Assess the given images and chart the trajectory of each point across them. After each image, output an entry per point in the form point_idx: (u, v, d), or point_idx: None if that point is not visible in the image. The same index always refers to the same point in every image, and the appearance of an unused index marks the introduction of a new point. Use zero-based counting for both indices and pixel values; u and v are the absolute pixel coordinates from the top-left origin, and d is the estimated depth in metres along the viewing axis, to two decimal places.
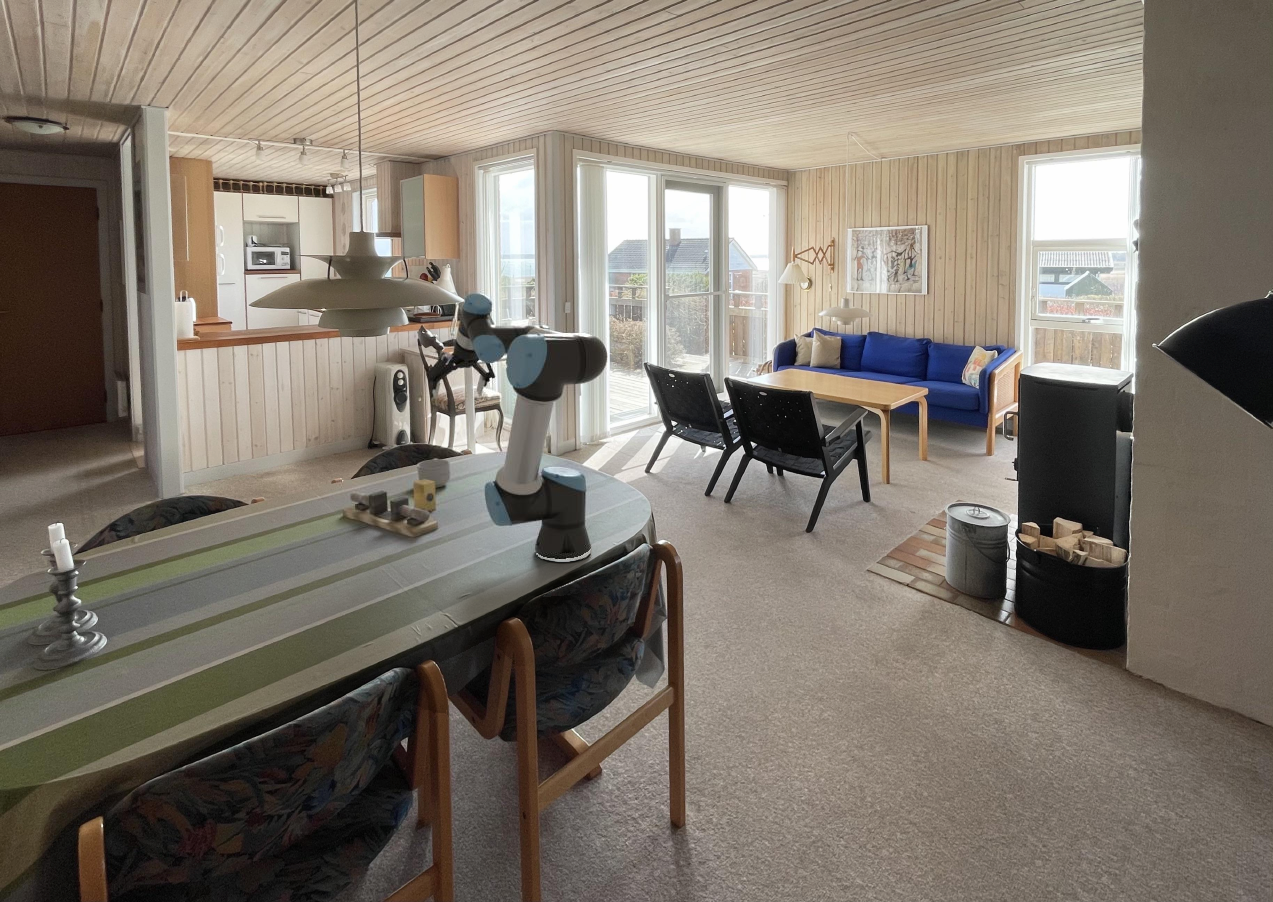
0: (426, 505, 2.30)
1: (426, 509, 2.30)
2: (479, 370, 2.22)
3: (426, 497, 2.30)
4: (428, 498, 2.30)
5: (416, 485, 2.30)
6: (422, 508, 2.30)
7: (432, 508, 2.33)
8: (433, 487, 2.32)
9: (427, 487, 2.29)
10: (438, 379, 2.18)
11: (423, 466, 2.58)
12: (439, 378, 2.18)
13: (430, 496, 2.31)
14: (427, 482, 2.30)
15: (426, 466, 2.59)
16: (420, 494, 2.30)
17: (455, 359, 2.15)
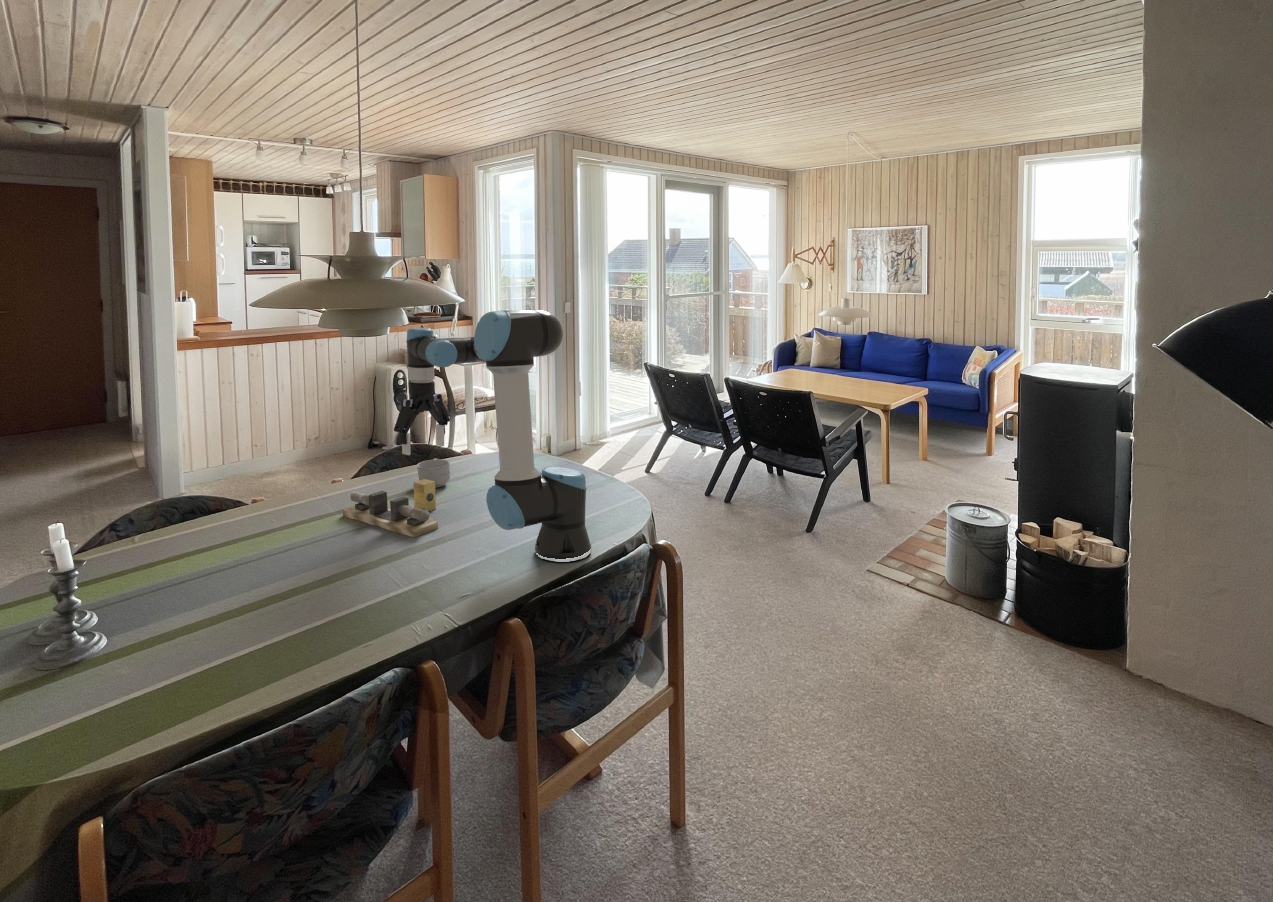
0: (426, 505, 2.30)
1: (426, 509, 2.30)
2: (436, 412, 2.29)
3: (426, 497, 2.30)
4: (428, 498, 2.30)
5: (416, 485, 2.30)
6: (422, 508, 2.30)
7: (432, 508, 2.33)
8: (433, 487, 2.32)
9: (427, 487, 2.29)
10: (407, 428, 2.20)
11: (423, 466, 2.58)
12: (407, 427, 2.20)
13: (430, 496, 2.31)
14: (427, 482, 2.30)
15: (426, 466, 2.59)
16: (420, 494, 2.30)
17: (416, 401, 2.21)
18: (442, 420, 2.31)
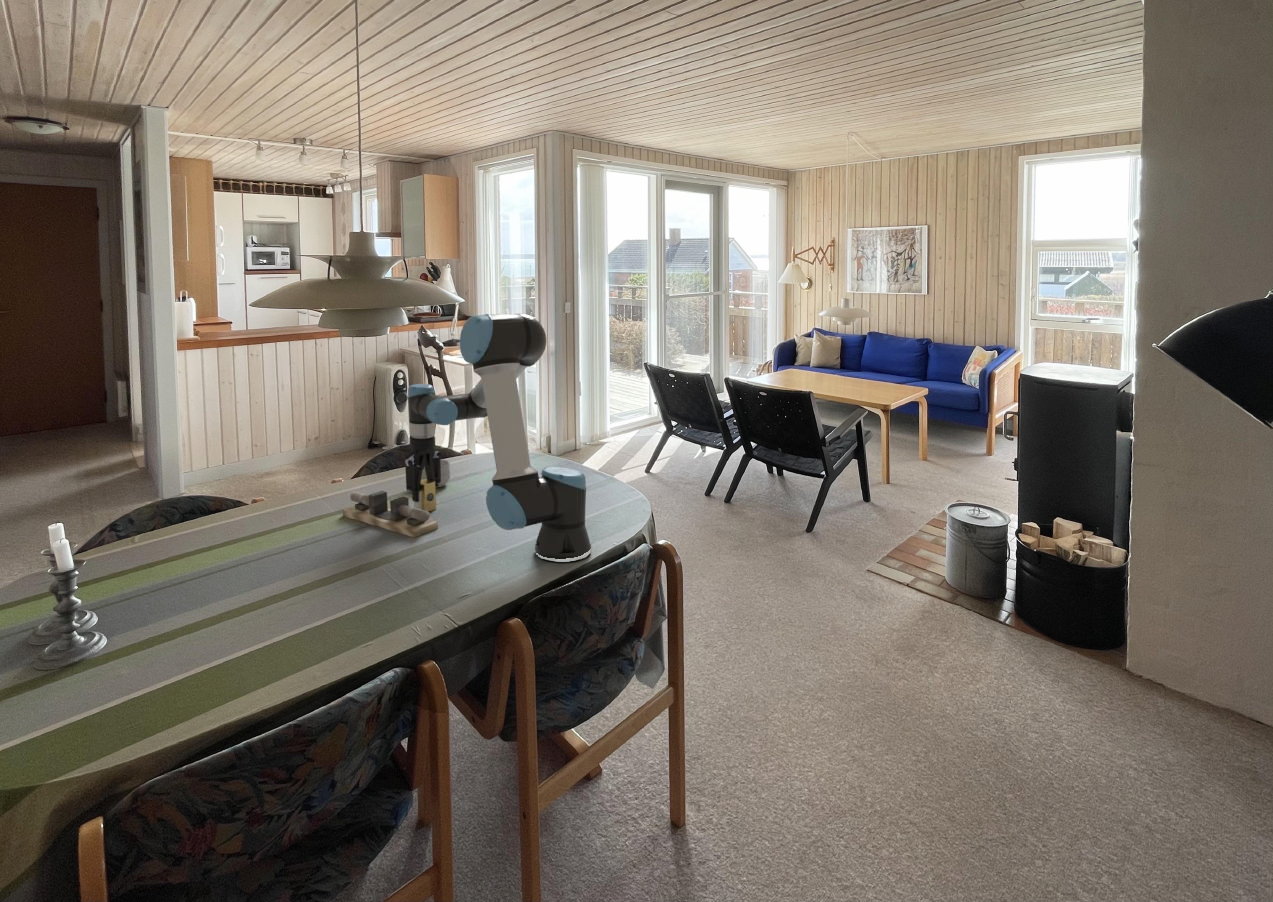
0: (427, 505, 2.30)
1: (426, 509, 2.30)
2: (432, 470, 2.32)
3: (426, 497, 2.29)
4: (428, 498, 2.30)
5: None
6: (422, 508, 2.30)
7: (432, 508, 2.32)
8: (433, 487, 2.31)
9: (427, 487, 2.29)
10: (418, 486, 2.28)
11: None
12: (418, 485, 2.28)
13: (431, 496, 2.31)
14: (427, 482, 2.30)
15: None
16: None
17: (417, 456, 2.25)
18: None
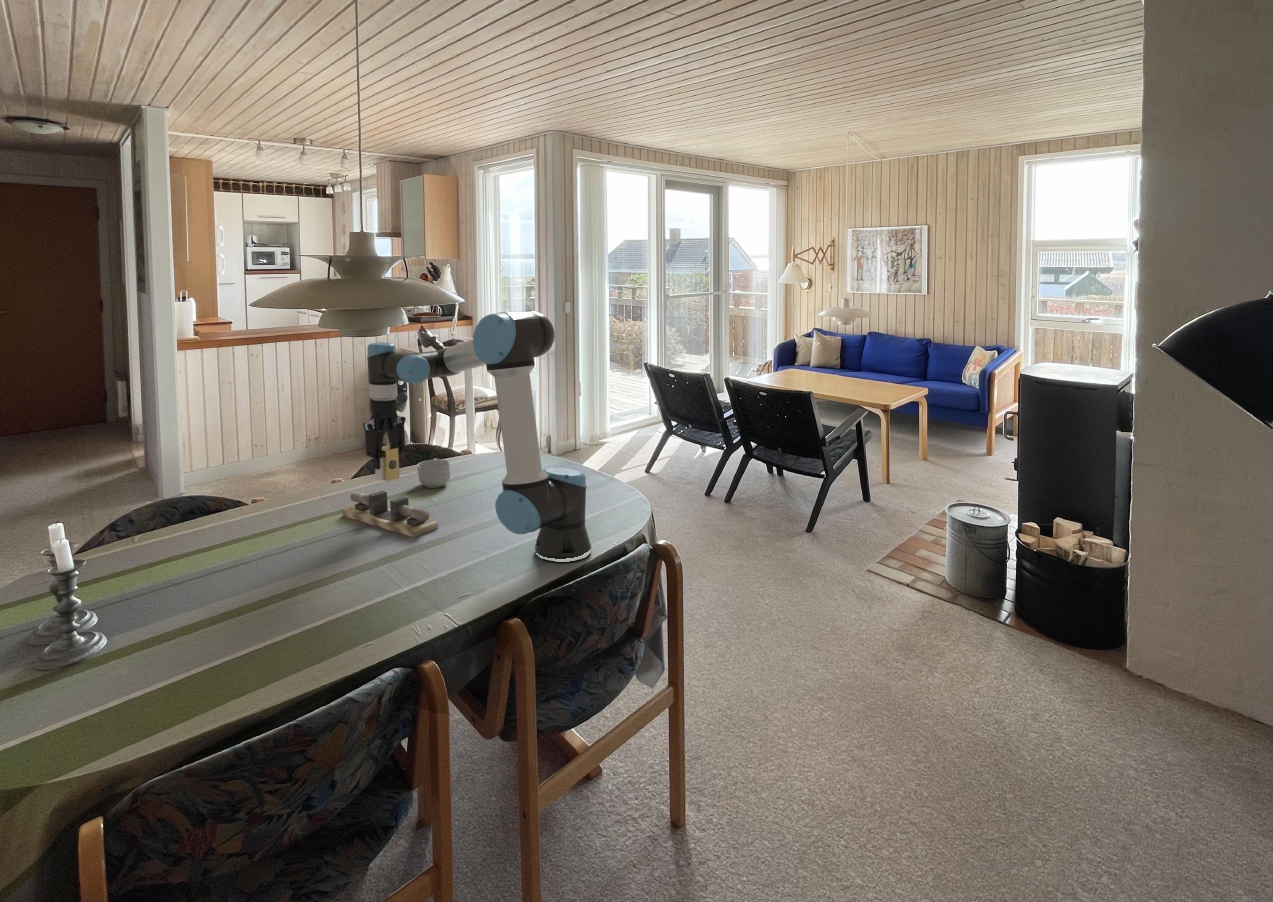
0: (389, 473, 2.15)
1: (388, 477, 2.15)
2: (395, 436, 2.17)
3: (388, 464, 2.14)
4: (390, 465, 2.15)
5: None
6: (384, 476, 2.15)
7: (395, 476, 2.17)
8: (396, 454, 2.16)
9: (389, 454, 2.14)
10: (379, 453, 2.13)
11: (423, 466, 2.58)
12: (379, 451, 2.13)
13: (393, 463, 2.16)
14: (389, 448, 2.15)
15: (426, 466, 2.59)
16: None
17: (377, 420, 2.10)
18: (397, 447, 2.18)
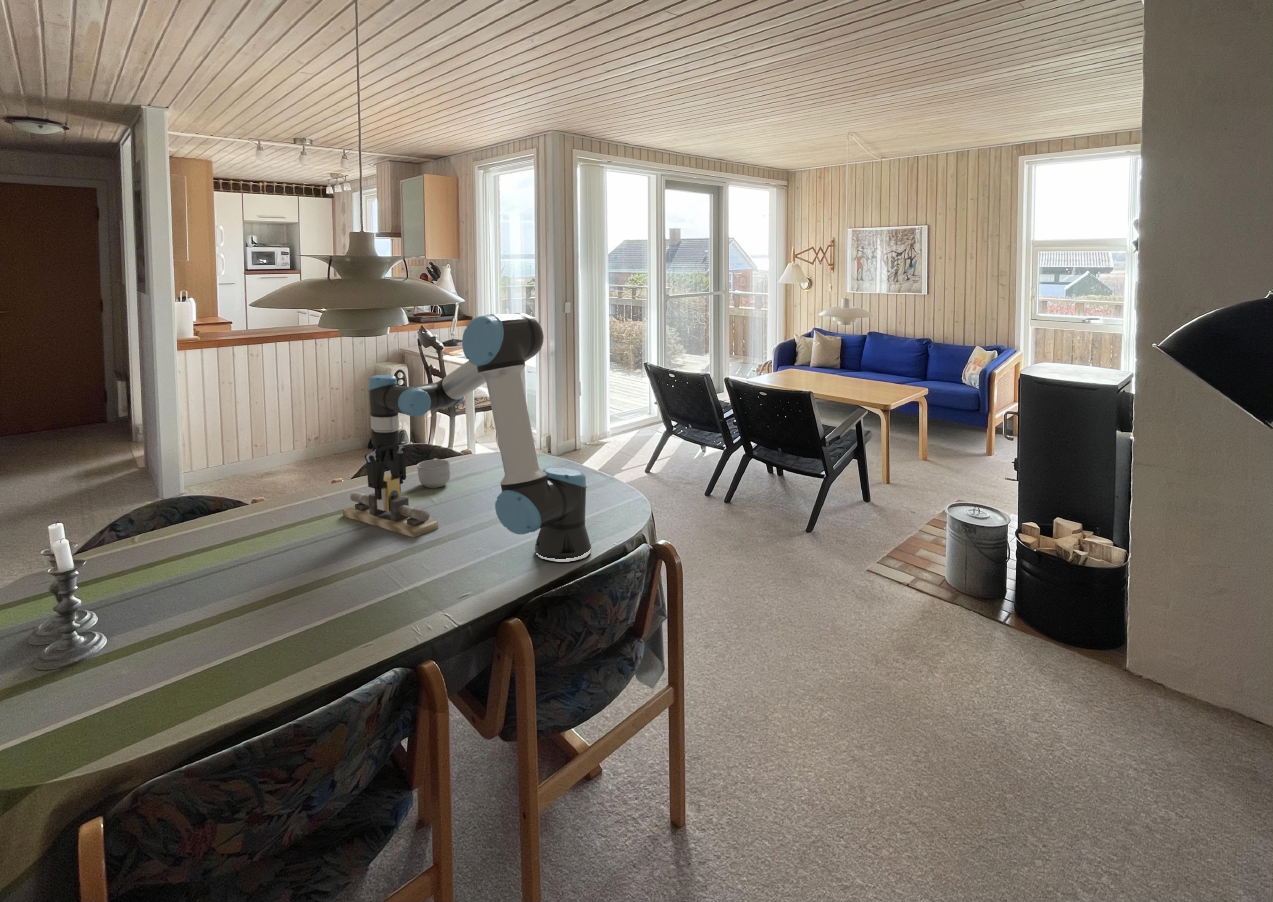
0: None
1: None
2: (396, 466, 2.19)
3: (390, 495, 2.17)
4: (392, 496, 2.17)
5: None
6: (386, 506, 2.17)
7: None
8: (397, 484, 2.19)
9: (390, 484, 2.16)
10: (381, 483, 2.15)
11: (423, 466, 2.58)
12: (381, 482, 2.15)
13: (394, 493, 2.18)
14: (391, 479, 2.18)
15: (426, 466, 2.59)
16: None
17: (379, 451, 2.13)
18: (398, 477, 2.20)
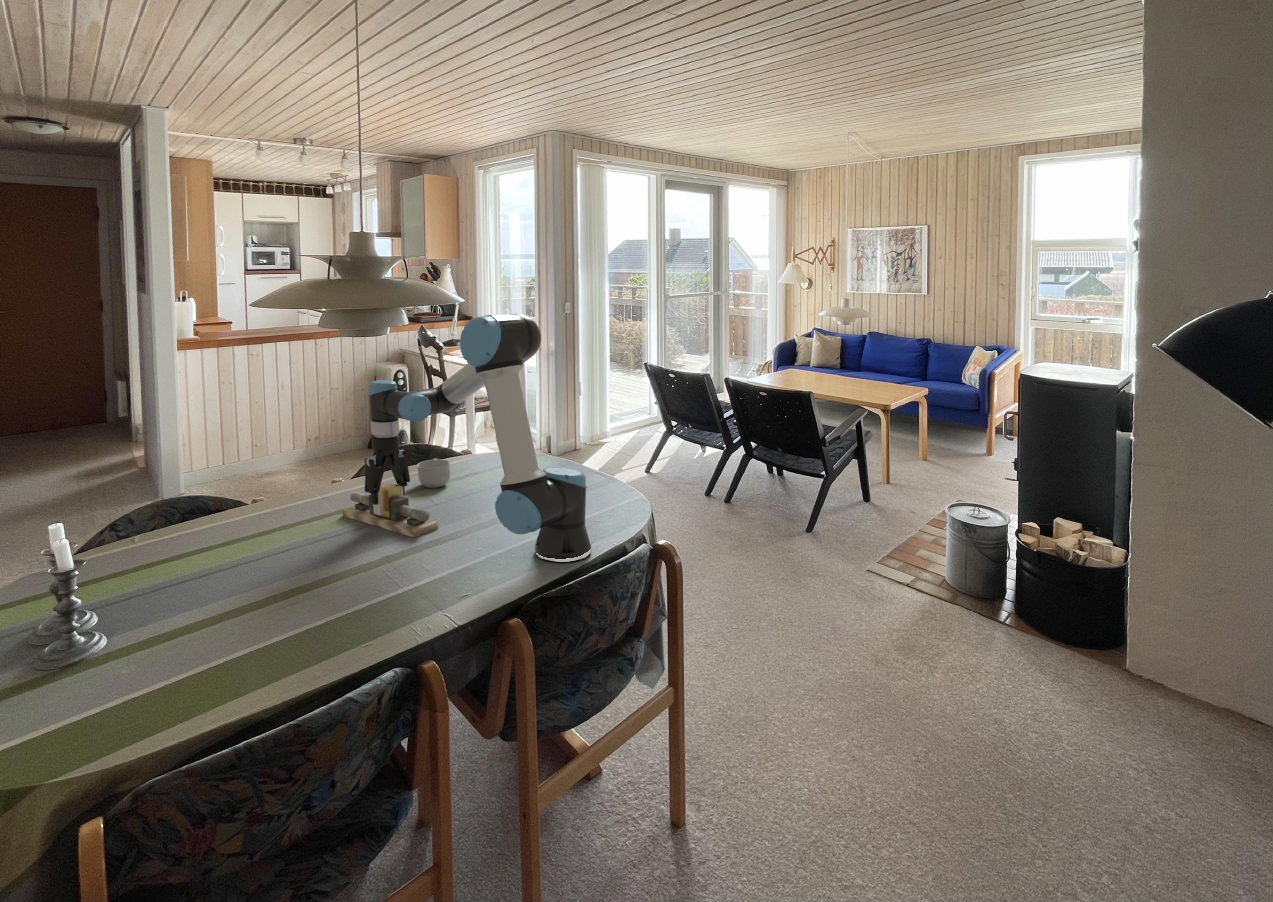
0: None
1: None
2: (398, 470, 2.20)
3: None
4: None
5: (380, 489, 2.17)
6: (386, 514, 2.18)
7: None
8: (398, 491, 2.19)
9: (391, 492, 2.17)
10: (377, 488, 2.14)
11: (423, 466, 2.58)
12: (378, 487, 2.14)
13: None
14: (392, 486, 2.18)
15: (426, 466, 2.59)
16: (384, 498, 2.17)
17: (379, 456, 2.13)
18: (402, 480, 2.22)
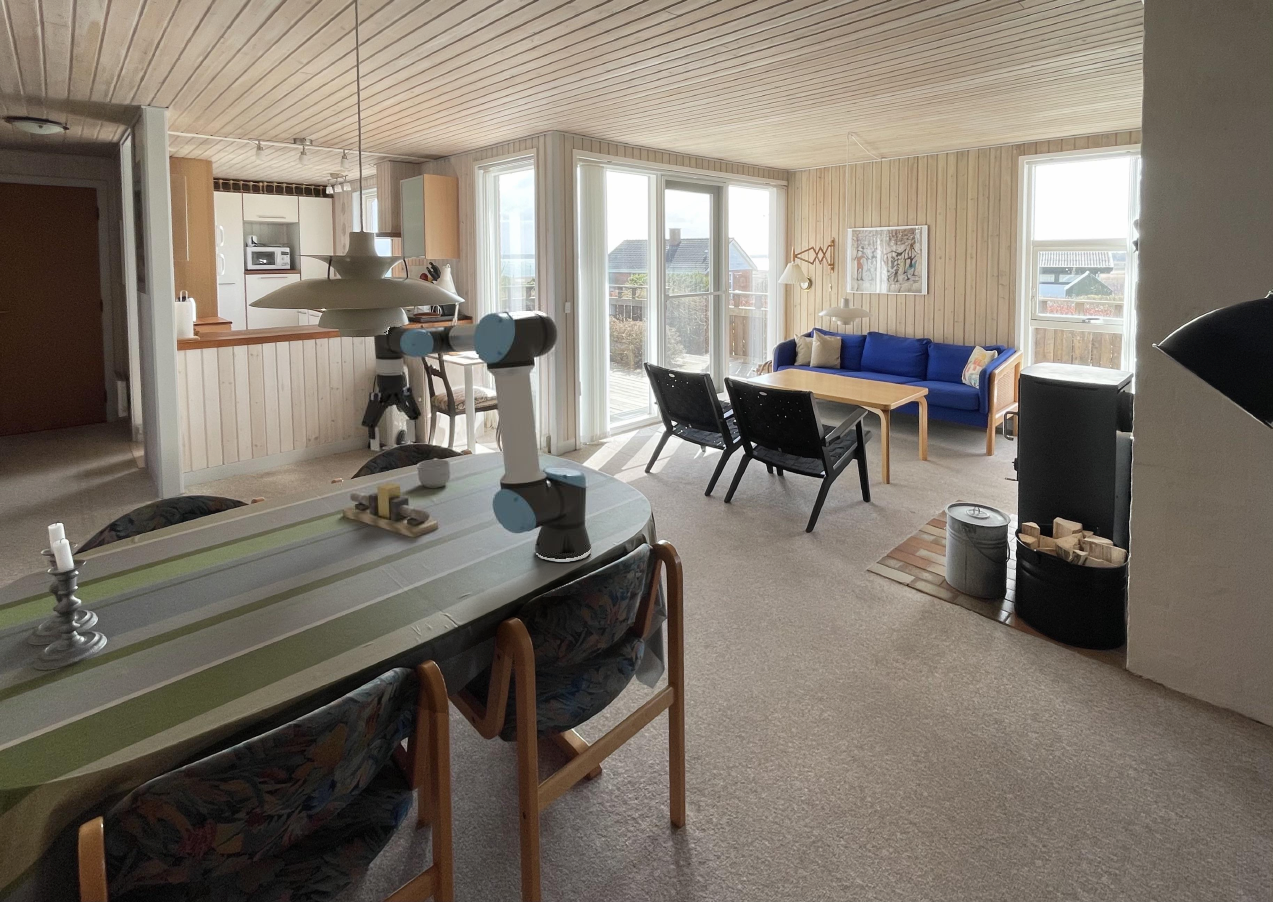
0: None
1: None
2: (406, 406, 2.20)
3: None
4: None
5: (380, 489, 2.17)
6: (386, 514, 2.18)
7: None
8: (398, 491, 2.19)
9: (391, 492, 2.17)
10: (375, 423, 2.11)
11: (423, 466, 2.58)
12: (376, 421, 2.11)
13: None
14: (392, 486, 2.18)
15: (426, 466, 2.59)
16: (384, 498, 2.17)
17: (384, 394, 2.12)
18: (413, 414, 2.23)
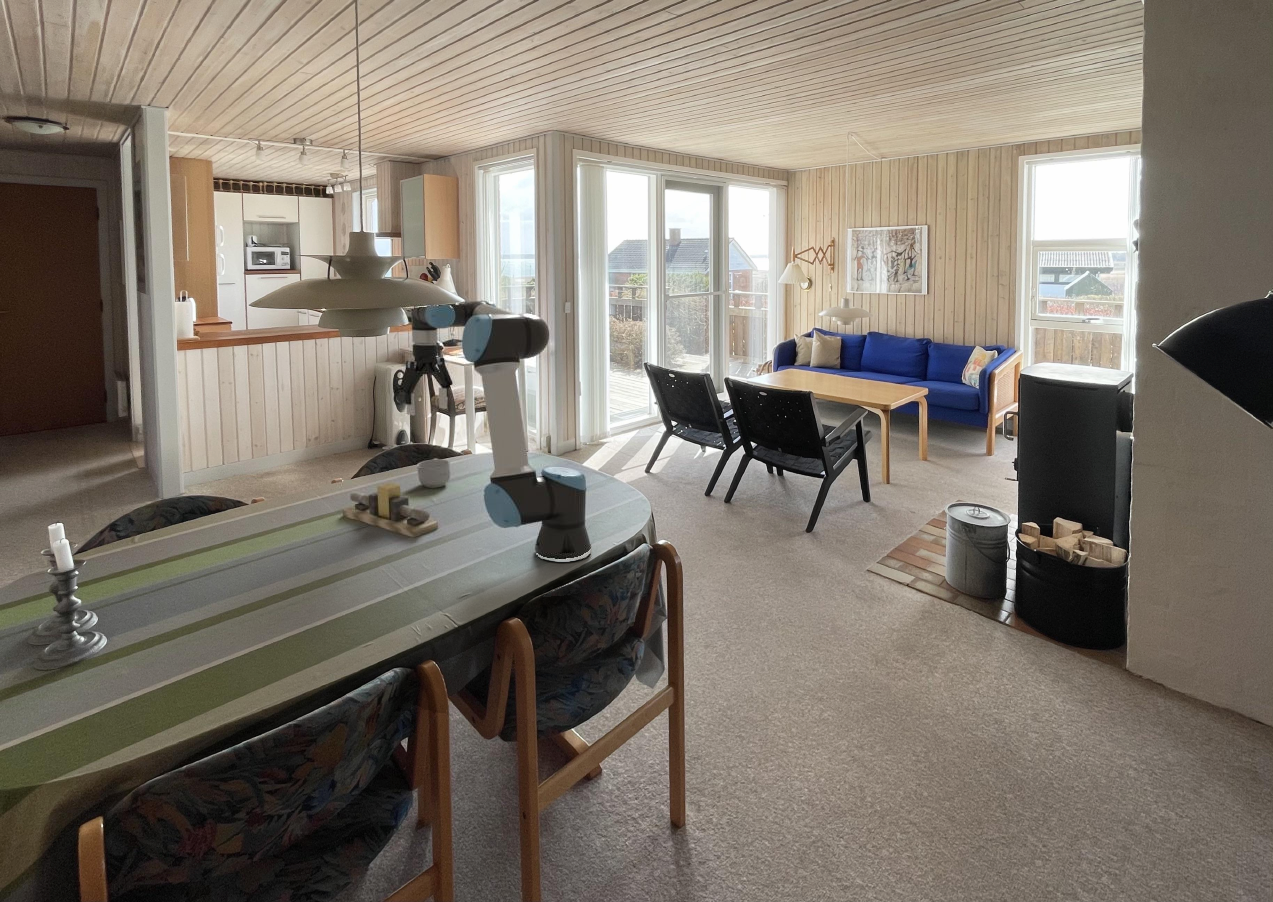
0: None
1: None
2: (439, 375, 2.37)
3: None
4: None
5: (380, 489, 2.17)
6: (386, 514, 2.18)
7: None
8: (398, 491, 2.19)
9: (391, 492, 2.17)
10: (411, 389, 2.28)
11: (423, 466, 2.58)
12: (412, 388, 2.28)
13: None
14: (392, 486, 2.18)
15: (426, 466, 2.59)
16: (384, 498, 2.17)
17: (420, 363, 2.30)
18: (445, 383, 2.40)
